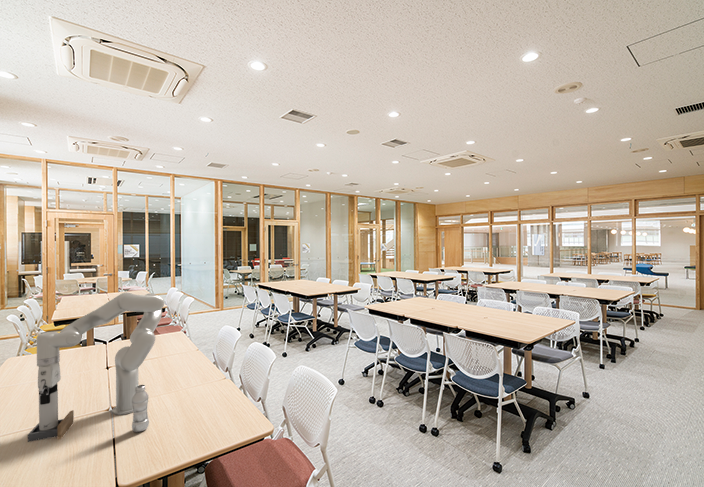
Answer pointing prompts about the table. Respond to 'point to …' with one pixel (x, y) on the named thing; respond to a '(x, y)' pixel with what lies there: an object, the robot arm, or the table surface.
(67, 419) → the board
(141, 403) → the plastic bottle
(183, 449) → the table surface
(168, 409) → the table surface
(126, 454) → the table surface
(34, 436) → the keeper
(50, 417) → the travel mug
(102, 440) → the table surface
